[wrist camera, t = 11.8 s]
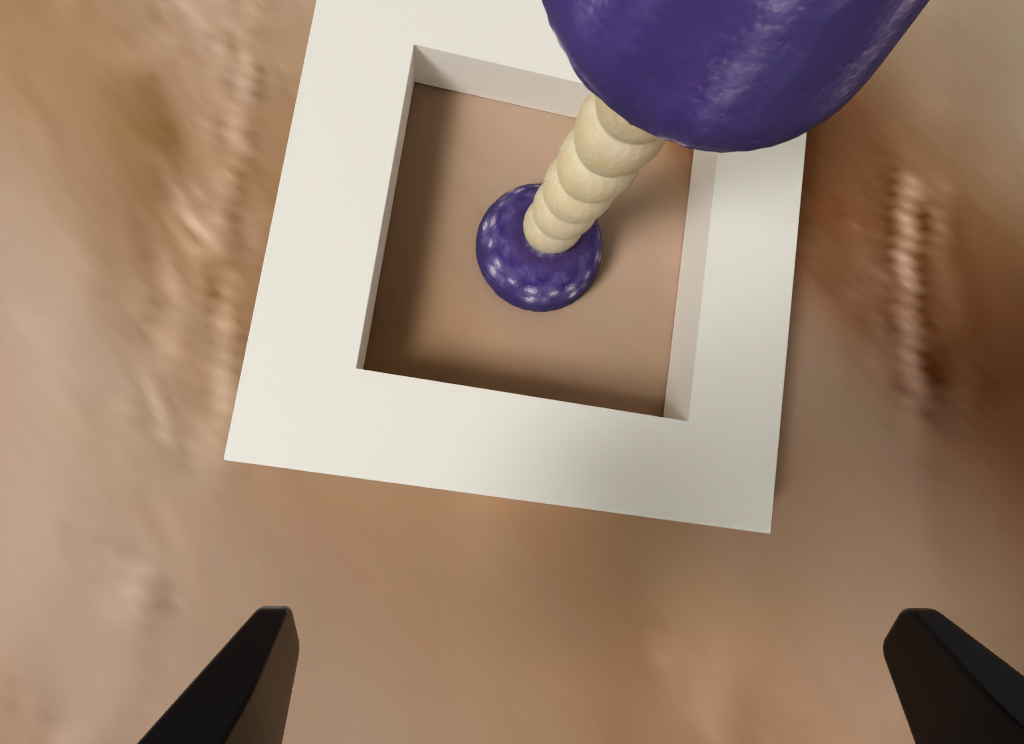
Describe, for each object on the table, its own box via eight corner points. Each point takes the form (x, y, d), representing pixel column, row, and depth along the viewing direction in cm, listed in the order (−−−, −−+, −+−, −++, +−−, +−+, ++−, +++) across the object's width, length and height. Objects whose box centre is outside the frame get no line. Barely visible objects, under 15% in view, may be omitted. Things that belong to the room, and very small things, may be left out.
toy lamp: (594, 334, 20) (1303, -65, 4) (456, 320, 20) (640, -226, 3) (602, 198, 21) (1258, -642, 5) (467, 179, 20) (675, -878, 4)
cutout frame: (736, 524, 21) (770, 533, 19) (244, 456, 18) (223, 459, 16) (779, 85, 23) (813, 52, 21) (339, -21, 20) (330, -70, 18)
